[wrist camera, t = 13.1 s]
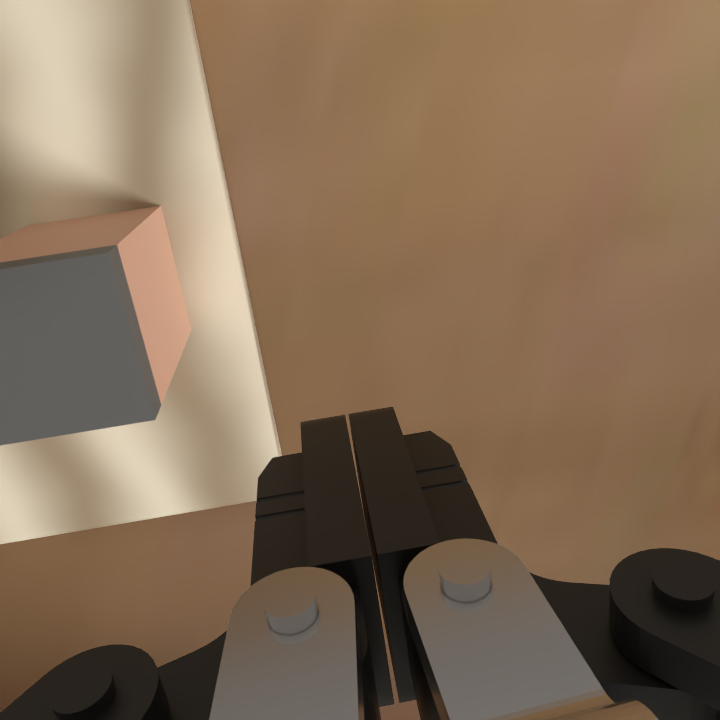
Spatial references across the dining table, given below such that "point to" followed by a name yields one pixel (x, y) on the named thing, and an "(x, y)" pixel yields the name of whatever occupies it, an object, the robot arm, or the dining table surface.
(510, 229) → the dining table surface
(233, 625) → the robot arm
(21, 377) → the block
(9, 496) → the board
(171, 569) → the dining table surface
